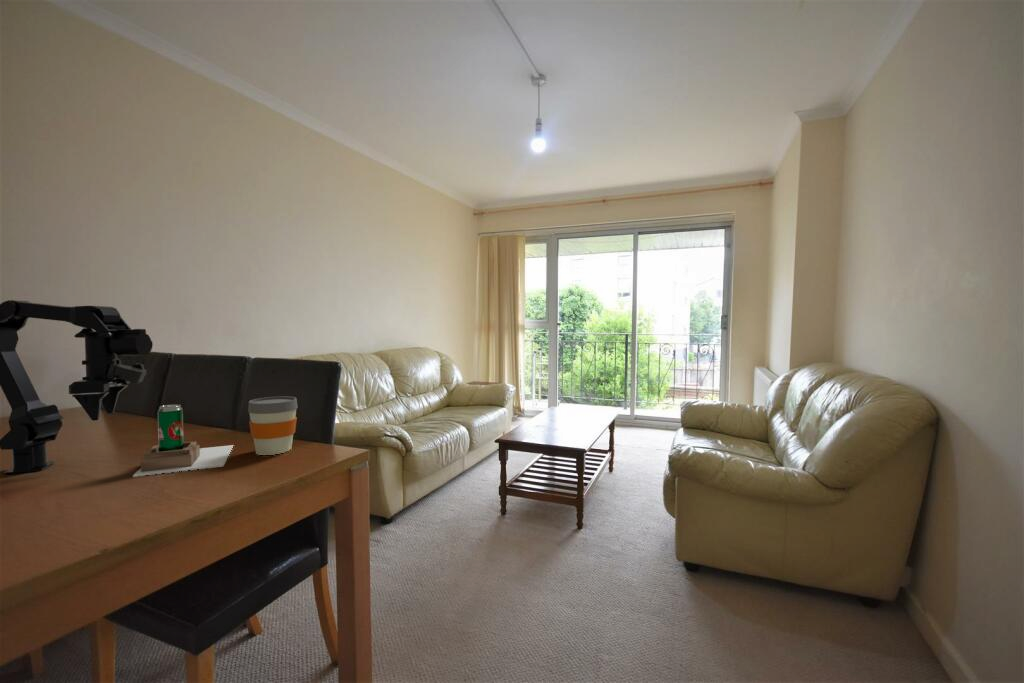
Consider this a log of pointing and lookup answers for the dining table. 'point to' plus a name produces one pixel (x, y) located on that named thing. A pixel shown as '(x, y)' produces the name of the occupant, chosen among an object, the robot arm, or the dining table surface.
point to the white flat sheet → (198, 461)
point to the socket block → (170, 457)
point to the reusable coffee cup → (272, 424)
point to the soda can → (170, 428)
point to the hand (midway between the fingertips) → (103, 416)
